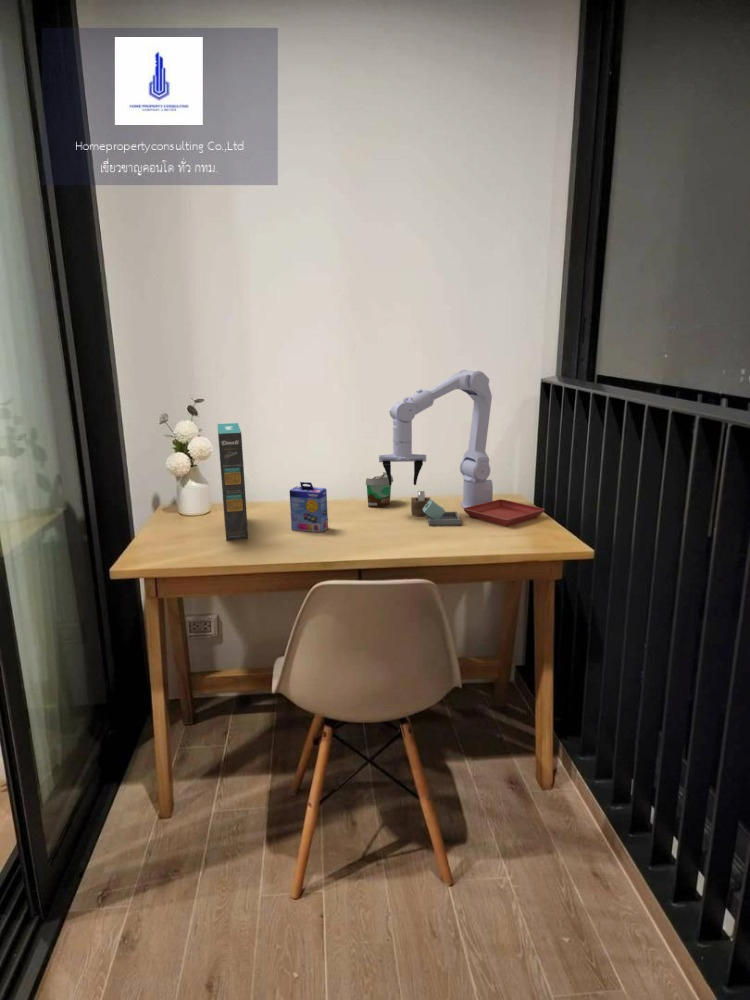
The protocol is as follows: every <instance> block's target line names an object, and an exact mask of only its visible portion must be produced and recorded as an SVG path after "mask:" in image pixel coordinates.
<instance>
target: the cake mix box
mask: <svg viewBox="0 0 750 1000" xmlns="http://www.w3.org/2000/svg"><path fill="white" fill-rule="evenodd" d="M216 426H217V436H218V437H217V439H218V440H217V441H218V450H219V452H218V453H219V463H220V477H221V491H222V507H223V517H224V519H223V520H224V528H225V529H224V530H225V541H227V542H228V541H239V540H248V539H249V529H248V517H247V516H248V515H247V513H248V512H247V499H246V486H245V485H246V484H245V483H246V482H245V473H244V472H245V469H244V468H245V467H244V455H243V453H244V452H243V438H242V437H243V436H242V435H243V434H242V430H241V428H240V426H239V423H238V422H236V423H235V422H233V423H230V422H229V423H217V424H216Z"/></svg>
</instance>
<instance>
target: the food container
mask: <svg viewBox="0 0 750 1000" xmlns="http://www.w3.org/2000/svg"><path fill="white" fill-rule="evenodd" d="M393 482H394V478H393V475H392V474H391V485H389V480H388V476H387V473H386V471H384V472H383V471H382V474H381V475H377V476H374V477H373V478H369V477H367V478H366V480H365V485H366V494H367V505H368V506H367V507H368V508H376V509H378V508H379V509H380V508H385V507H388V506H391V495H392V493H391V492H392V483H393Z"/></svg>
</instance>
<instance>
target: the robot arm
mask: <svg viewBox="0 0 750 1000" xmlns="http://www.w3.org/2000/svg"><path fill="white" fill-rule="evenodd" d="M489 385H490V378H489V377H488V376H487V375H486V374H485V373H484V372H483V371H480V370H477V371H475V370H474V371H473V370H466V369H464V370H460V371H459V372H456V373H453V374H452V375H451V376H450V377H448V378H447V379H445V380H444V381H441V382H440V383H439V384H437V385H436V386H433V387H432V388H430V389H429V390H428V389H425V388H423V389H421V388H418V389H417V390H416V391H415V393H414V394H411V395H410V396H408V397H407V396H405V397H404V398H403V401H396V402H394V403H393V404H392V406H391V407H390V410H389V411H388V412H389V415H390V417H391V419H392V451H393V453H392V454H380V455H378V463H382V467H383V469H384V472H386V473H387V476H388V480H389V485H391V486H392V483H391V475H392V473H391V471H392V470H391V469H392V468H391V467H392V465H391V464H392V462H393V463H394V462H395V463H396V462H397V463H398V462H400V463H401V462H402V463H403V462H405V463H406V462H413V486H417V481H418V477H419V474H420V471H421V470H422V467H423V465H424V463H426V462H427V454H418V453H417V454H415V453H413V447H412V446H413V443H412V442H413V441H412V439H413V435H412V434H413V433H412V432H413V430H412V429H413V428H412V427H413V426H412V424H413V423H412V422H413V420H414V418H415V416H417V415H418V414H420V413H422V412H423V411H425V410H427V409H428V408H430V407H432V406H433V404H434V401H435V400H436V399H438V398H441V397H443V396H444V395H447V394H448V393H451V392H453V391H454V390H460V391H461V392H463V393H465V394H467V395H468V396H469V397H470V399H472V401H473V408H472V417H471V424H470V432H469V433H470V434H469V440H468V441H469V442H468V449H467V450H466V451H465V452H464V454H463V458H462V460H461V462H460V465H459V471H460V474H461V475H462V476H463V477H462V478H463V484H462V485H463V487H462V489H463V491H462V492H463V494H462V496H463V497H462V501H460V505H461V506H462V509H463V508H466V507H470V506H475V505H479V504H483V503H487V502H491V501H493V500H494V499H493V495H494V494H493V493H494V492H493V491H494V488H493V487H494V485H493V480H492V479H488V478H489V477H490V474H491V466H490V458H489V455H488V454H487V452H486V447H487V441H488V440H487V438H488V432H489V431H488V430H489V424H490V415H491V407H492V398H493V394H492V391H491V388H490V386H489ZM423 462H424V463H423Z"/></svg>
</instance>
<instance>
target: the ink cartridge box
mask: <svg viewBox="0 0 750 1000" xmlns="http://www.w3.org/2000/svg"><path fill="white" fill-rule="evenodd" d="M299 483H300V486H295V487H293V488H291V489H289V507H290V525H291V526H290V527H291V530H292V531H302V532H303V531H304V532H312V533H322V532H324V531H325V530H327V529H328V528H329V520H328V519H329V517H328V514H329V513H328V494H327V488H325V487H314V485H313V484H312V482H307V481H305V482H304V481H300V482H299Z"/></svg>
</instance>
